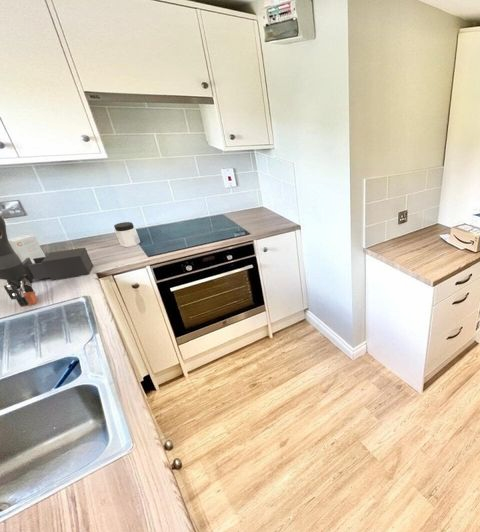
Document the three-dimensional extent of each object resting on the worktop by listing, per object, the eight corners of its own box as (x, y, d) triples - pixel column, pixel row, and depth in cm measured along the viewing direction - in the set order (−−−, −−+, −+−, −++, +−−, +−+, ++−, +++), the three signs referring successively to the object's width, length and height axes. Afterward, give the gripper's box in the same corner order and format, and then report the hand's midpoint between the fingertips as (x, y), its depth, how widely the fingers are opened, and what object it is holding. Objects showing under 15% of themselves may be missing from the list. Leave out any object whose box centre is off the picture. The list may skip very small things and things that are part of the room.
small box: (39, 257, 165) (26, 233, 159) (47, 259, 164) (34, 235, 158) (18, 263, 159) (4, 239, 153) (27, 265, 157) (13, 241, 151)
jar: (134, 247, 180) (127, 226, 174) (118, 247, 178) (110, 227, 173) (143, 240, 188) (135, 221, 182) (127, 241, 186) (119, 221, 181)
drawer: (10, 285, 139) (0, 269, 135) (18, 276, 146) (8, 260, 142) (62, 276, 147) (54, 261, 143) (68, 268, 154) (60, 253, 151)
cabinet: (51, 281, 145) (41, 261, 141) (58, 271, 153) (48, 252, 149) (89, 274, 151) (80, 255, 147) (93, 265, 159) (85, 247, 155)
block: (21, 306, 127) (15, 298, 125) (24, 302, 130) (19, 293, 128) (35, 304, 129) (30, 295, 127) (38, 299, 132) (33, 291, 130)
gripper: (0, 259, 125) (21, 294, 133) (-17, 274, 115) (8, 311, 122) (27, 255, 129) (46, 289, 136) (13, 269, 118) (35, 306, 126)
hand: (28, 300), depth 129 cm, fingers open, 8 cm apart
